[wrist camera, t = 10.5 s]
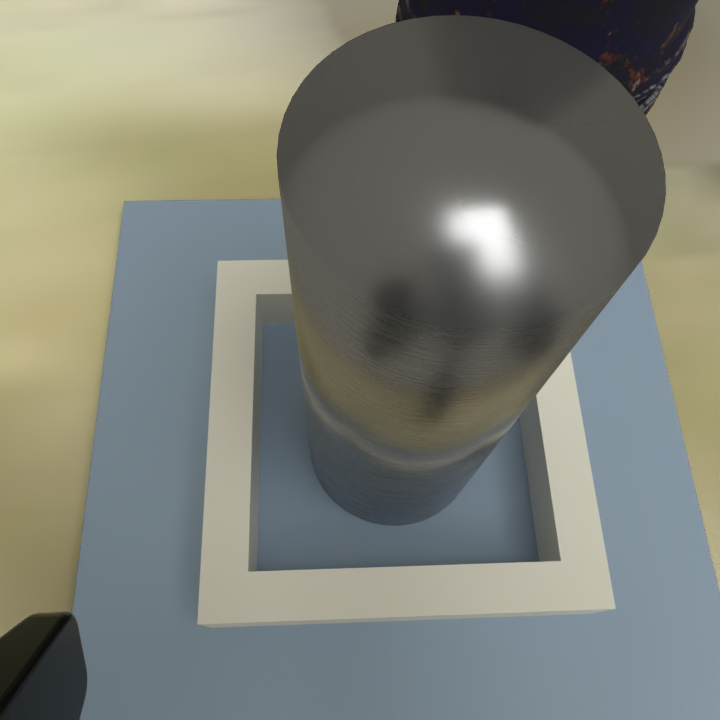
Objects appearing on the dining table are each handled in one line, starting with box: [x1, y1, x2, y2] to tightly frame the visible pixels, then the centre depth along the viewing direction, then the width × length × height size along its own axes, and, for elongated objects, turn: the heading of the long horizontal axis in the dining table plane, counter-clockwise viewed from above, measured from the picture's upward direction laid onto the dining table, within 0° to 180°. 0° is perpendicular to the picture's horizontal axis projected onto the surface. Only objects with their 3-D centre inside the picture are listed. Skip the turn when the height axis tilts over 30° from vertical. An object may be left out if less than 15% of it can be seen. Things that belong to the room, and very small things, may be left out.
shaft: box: [277, 15, 666, 526], centre depth 15 cm, size 5×5×13 cm
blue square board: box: [72, 199, 720, 720], centre depth 20 cm, size 18×18×3 cm
